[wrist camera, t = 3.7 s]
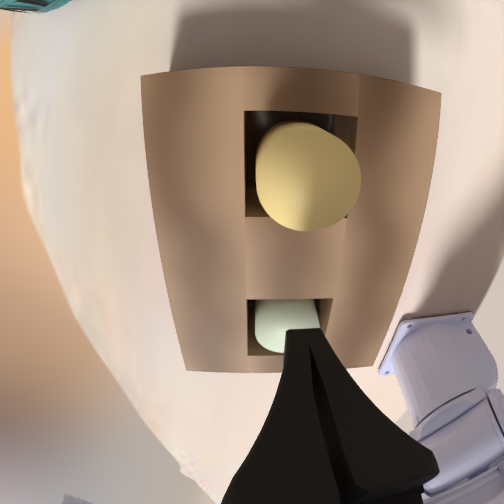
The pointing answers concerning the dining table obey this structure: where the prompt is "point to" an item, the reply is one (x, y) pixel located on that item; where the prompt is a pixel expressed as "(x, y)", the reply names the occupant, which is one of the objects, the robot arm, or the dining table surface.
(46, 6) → the beverage bottle
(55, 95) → the dining table surface
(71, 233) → the dining table surface
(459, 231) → the dining table surface
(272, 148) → the mustard peg
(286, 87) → the peg block
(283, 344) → the sage peg
